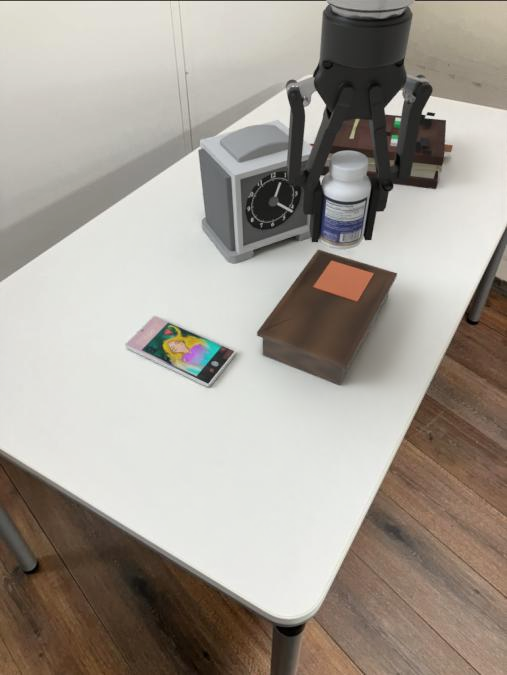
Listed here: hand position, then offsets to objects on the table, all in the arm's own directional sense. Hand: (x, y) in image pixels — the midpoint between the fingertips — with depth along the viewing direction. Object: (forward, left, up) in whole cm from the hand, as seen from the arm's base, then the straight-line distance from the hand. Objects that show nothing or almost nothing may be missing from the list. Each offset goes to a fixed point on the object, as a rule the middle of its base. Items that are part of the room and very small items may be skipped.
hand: (339, 234), depth 60 cm
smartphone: (+19, +10, -20) cm, 29 cm away
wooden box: (+2, -5, -20) cm, 21 cm away
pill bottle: (0, 0, -1) cm, 1 cm away
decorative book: (+12, -56, -20) cm, 60 cm away
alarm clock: (+23, -22, -20) cm, 37 cm away
